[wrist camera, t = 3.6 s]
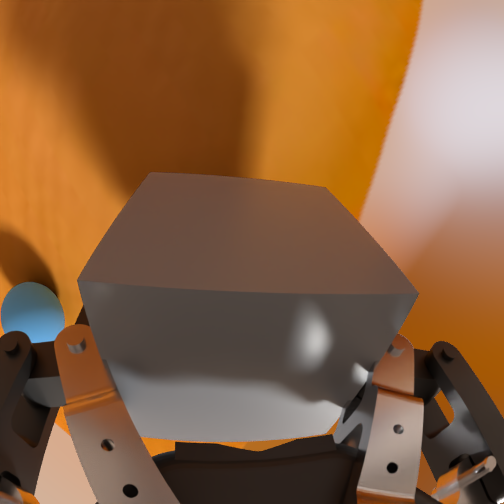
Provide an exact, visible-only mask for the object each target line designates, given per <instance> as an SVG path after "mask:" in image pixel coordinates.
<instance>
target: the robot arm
mask: <svg viewBox="0 0 504 504" xmlns="http://www.w3.org/2000/svg"><path fill="white" fill-rule="evenodd" d="M441 390H442V391H443V393H444V395H445V397H446V398H447V400H448V401H449V403H450V405H451V407H452V408H453V410H454V416H455V417H454V420H453V422H452V423H451V424H449V423H448V421H447V419H446V418H445V416H444V414H443V412H442V411H441V409H440V407H439V405H438V403H437V402H436V400H435V398H434V397H435V396H436V395H437V394H438V393H439V392H440V391H441ZM60 406H63V409H64V414H65V418H66V421H67V425H68V428H69V431H70V434H71V437H72V440H73V443H74V446H75V449H76V452H77V454H78V457H79V459H80V462H81V464H82V467H83V469H84V472H85V475H86V477H87V479H88V482H89V484H90V486H91V488H92V490H93V492H94V495H95V496H96V499H97V501H98V502H96V504H500V503H502V502H504V419H503V417H502V415H501V414H500V412H499V411H498V409H497V407H496V406H495V404H494V402H493V401H492V399H491V398H490V396H489V394H488V393H487V391H486V390H485V389H484V387H483V385H482V384H481V382H480V381H479V379H478V378H477V377H476V375H475V373H474V372H473V371H472V369H471V368H470V366H469V365H468V363H467V362H466V361H465V359H464V358H463V356H462V355H461V354H460V352H459V351H458V350H457V349H456V348H455V347H454V346H453V345H451V344H450V343H448V342H444V341H439V342H436V343H435V344H434V345H433V347H432V348H431V349H430V351H424V350H419V349H413V346H412V344H411V343H410V342H409V341H408V339H406V338H405V337H404V336H402V335H400V334H398V333H397V335H396V336H395V338H394V340H393V341H392V343H391V345H390V346H389V348H388V349H387V351H386V353H385V354H384V356H383V357H382V359H381V360H379V361H375V362H374V363H373V365H372V366H371V368H370V369H369V371H368V375H367V381H366V382H365V384H364V385H363V387H362V388H361V389H360V391H359V392H358V393H357V395H356V396H355V398H354V399H353V400H348V401H347V402H346V404H345V405H344V406H343V408H342V411H341V415H340V418H339V422H338V425H337V428H336V431H335V433H334V435H332V434H330V435H325V436H318V437H311V438H303V439H296V440H294V441H291V442H288V443H285V444H282V445H279V446H276V447H273V448H270V449H267V450H264V451H259V452H258V451H250V450H245V449H239V448H234V447H229V446H225V445H220V444H214V443H186V442H175V451H170V452H165V453H162V454H158V455H156V456H153V457H151V456H150V454H149V452H148V450H147V449H146V447H145V445H144V443H143V441H142V439H141V437H140V435H139V433H138V431H137V429H136V427H135V425H134V423H133V421H132V419H131V417H130V415H129V413H128V411H127V409H126V406H125V404H124V402H123V400H122V397H121V395H120V393H119V390H118V388H117V386H116V384H115V381H114V379H113V376H112V373H111V371H110V368H109V366H108V363H107V360H105V359H101V357H100V354H99V351H98V349H97V346H96V343H95V340H94V337H93V334H92V331H91V328H90V325H89V321H88V318H87V315H86V311H85V308H84V305H83V307H82V309H81V312H80V314H79V316H78V318H77V320H76V323H75V325H71V326H68V327H66V328H64V329H63V330H62V331H61V332H60V333H59V334H58V335H57V337H56V339H55V340H54V341H48V342H39V343H32V342H31V340H30V338H29V337H28V335H27V334H26V333H24V332H22V331H11V332H8V333H6V334H4V335H3V336H2V337H1V338H0V504H39V502H38V500H37V499H36V498H35V497H34V493H35V489H36V484H37V480H38V476H39V472H40V468H41V464H42V461H43V457H44V453H45V450H46V447H47V443H48V440H49V437H50V434H51V431H52V427H53V425H54V422H55V419H56V416H57V413H58V410H59V408H60ZM421 450H422V452H423V454H424V456H425V458H426V460H427V462H428V464H429V466H430V469H431V471H432V473H433V475H434V478H435V480H436V482H437V487H436V488H435V489H433V490H432V493H431V496H430V495H428V494H426V493H425V492H423V491H422V490H420V489H418V488H417V487H416V484H417V478H418V471H419V463H420V454H421ZM438 500H439V501H438Z"/></svg>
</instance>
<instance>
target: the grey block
mask: <svg viewBox="0 0 504 504" xmlns="http://www.w3.org/2000/svg"><path fill="white" fill-rule="evenodd" d="M77 282H78V286H79V290H80V294H81V297H82V301H83V305H84V308H85V311H86V315H87V318H88V321H89V325H90V328H91V331H92V334H93V337H94V340H95V343H96V346H97V349H98V351H99V354H100V357H101V359H105V360H107V363H108V366H109V368H110V371H111V373H112V376H113V379H114V381H115V384H116V386H117V388H118V390H119V393H120V395H121V397H122V400H123V402H124V404H125V406H126V409H127V411H128V413H129V415H130V417H131V419H132V421H133V423H134V425H135V427H136V429H137V431H138V433H139V435H140V436H141V437H149V438H158V439H169V440H182V441H204V442H242V441H264V440H276V439H288V438H297V437H305V436H313V435H320V434H326V433H327V431H328V430H329V429H330V428H331V427H332V425H333V424H334V423H335V422H336V421H337V419H338V418H339V417H340V415H341V411H342V408H343V406H344V405H345V404H346V402H347V401H348V400H353V399H354V398H355V396H356V395H357V393H358V392H359V391H360V389H361V388H362V387H363V385H364V384H365V382H366V381H367V375H368V371H369V369H370V368H371V366H372V365H373V363H374V362H375V361H379V360H381V359H382V357H383V356H384V354H385V353H386V351H387V349H388V348H389V346H390V345H391V343H392V341H393V340H394V338H395V336H396V335H397V333H398V331H399V330H400V328H401V326H402V324H403V323H404V321H405V319H406V317H407V315H408V314H409V312H410V310H411V308H412V306H413V305H414V302H415V301H416V299H417V297H418V295H419V293H418V291H417V290H416V289H415V288H414V286H413V285H412V284H411V282H410V281H409V280H408V279H407V277H406V276H405V275H404V274H403V273H402V271H401V270H400V269H399V268H398V266H397V265H396V264H395V263H394V262H393V260H392V259H391V258H390V257H389V256H388V255H387V254H386V252H385V251H384V250H383V249H382V248H381V247H380V245H379V244H378V243H377V242H376V241H375V240H374V238H372V236H371V235H370V234H369V233H368V232H367V231H366V230H365V228H364V227H363V226H362V225H361V224H360V223H359V222H358V221H357V220H356V219H355V218H354V217H353V215H352V214H351V213H350V212H349V211H348V210H347V209H346V208H345V207H344V206H343V205H342V204H341V203H340V202H339V201H338V200H337V199H336V198H335V197H334V196H333V195H332V194H331V193H330V192H329V191H328V190H327V189H326V188H325V187H319V186H312V185H305V184H297V183H289V182H280V181H271V180H262V179H252V178H241V177H230V176H217V175H203V174H187V173H167V172H150V173H149V174H148V175H147V177H146V178H145V179H144V181H143V182H142V183H141V185H140V186H139V187H138V189H137V190H136V191H135V193H134V194H133V195H132V197H131V198H130V199H129V201H128V202H127V203H126V205H125V206H124V208H123V209H122V210H121V212H120V213H119V215H118V216H117V218H116V219H115V220H114V222H113V223H112V225H111V226H110V228H109V229H108V231H107V232H106V234H105V235H104V237H103V238H102V240H101V241H100V243H99V245H98V246H97V248H96V249H95V251H94V252H93V254H92V256H91V257H90V259H89V261H88V262H87V264H86V266H85V267H84V269H83V271H82V272H81V274H80V276H79V277H78V279H77Z"/></svg>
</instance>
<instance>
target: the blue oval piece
mask: <svg viewBox="0 0 504 504" xmlns="http://www.w3.org/2000/svg"><path fill="white" fill-rule="evenodd" d="M1 323H2V327H3V330H4V333H5V334H6V333H8V332H11V331H22V332H24V333H26V334H27V335H28V337H29V338H30V340H31V342H32V343H39V342H48V341H54V340H55V339H56V337H57V335H58V334H59V333H60V332H61V331H62V330H63V329H64V325H65V319H64V312H63V308H62V306H61V304H60V301H59V300H58V298H57V297H56V295H55V294H54V293H53V292H52V291H51V290H50V289H49V288H47V287H46V286H44V285H42V284H40V283H36V282H24V283H20V284H18V285H16V286H15V287H13V288H12V289H11V290H10V291H9V292H8V294H7V295H6V297H5V298H4V301H3V304H2V307H1Z"/></svg>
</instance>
